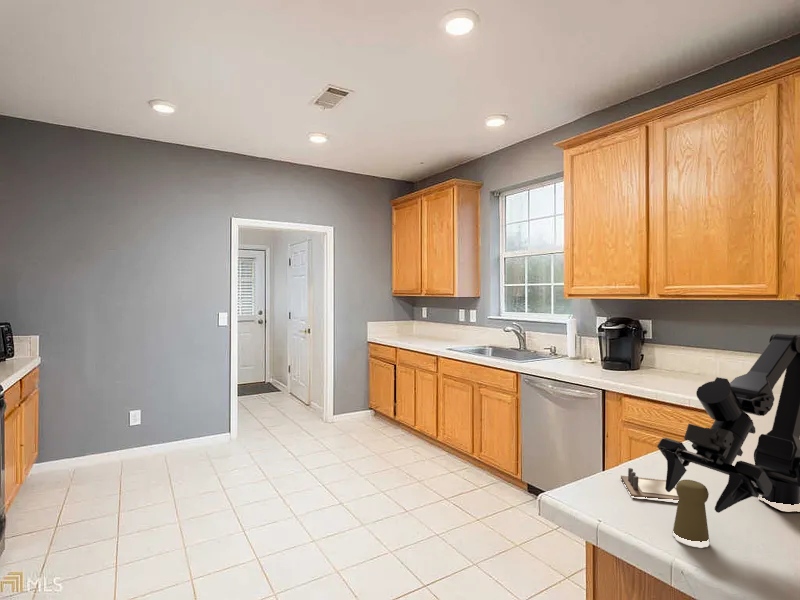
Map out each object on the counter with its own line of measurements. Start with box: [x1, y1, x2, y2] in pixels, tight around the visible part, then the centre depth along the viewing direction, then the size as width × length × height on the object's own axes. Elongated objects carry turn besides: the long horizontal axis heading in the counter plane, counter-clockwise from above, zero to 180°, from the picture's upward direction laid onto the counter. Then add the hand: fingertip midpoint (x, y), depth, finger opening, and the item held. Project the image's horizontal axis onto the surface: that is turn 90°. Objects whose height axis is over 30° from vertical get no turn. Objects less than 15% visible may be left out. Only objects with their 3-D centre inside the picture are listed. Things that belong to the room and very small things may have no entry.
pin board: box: [620, 467, 679, 500], centre depth 108 cm, size 11×11×4 cm
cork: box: [672, 479, 710, 542], centre depth 87 cm, size 6×6×11 cm
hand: (690, 500), depth 86 cm, fingers open, 9 cm apart
